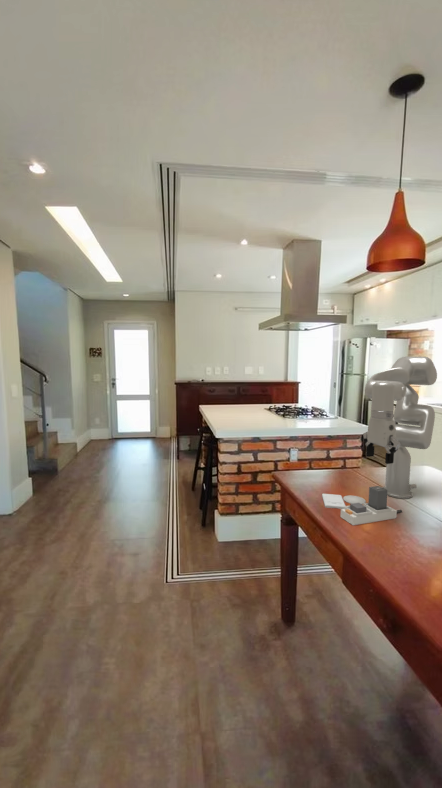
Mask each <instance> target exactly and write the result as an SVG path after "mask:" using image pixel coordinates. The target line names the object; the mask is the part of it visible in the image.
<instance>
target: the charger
mask: <svg viewBox="0 0 442 788" xmlns="http://www.w3.org/2000/svg"><path fill="white" fill-rule="evenodd" d="M382 487H383V486H380V485H375V486H369V488H368V502H367V503H368V506H370V507H372V508H374V509H375V510H383V509H387V506H388V505H387V504H388V495H387V492H388V490H387V489H384V488H382Z"/></svg>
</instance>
